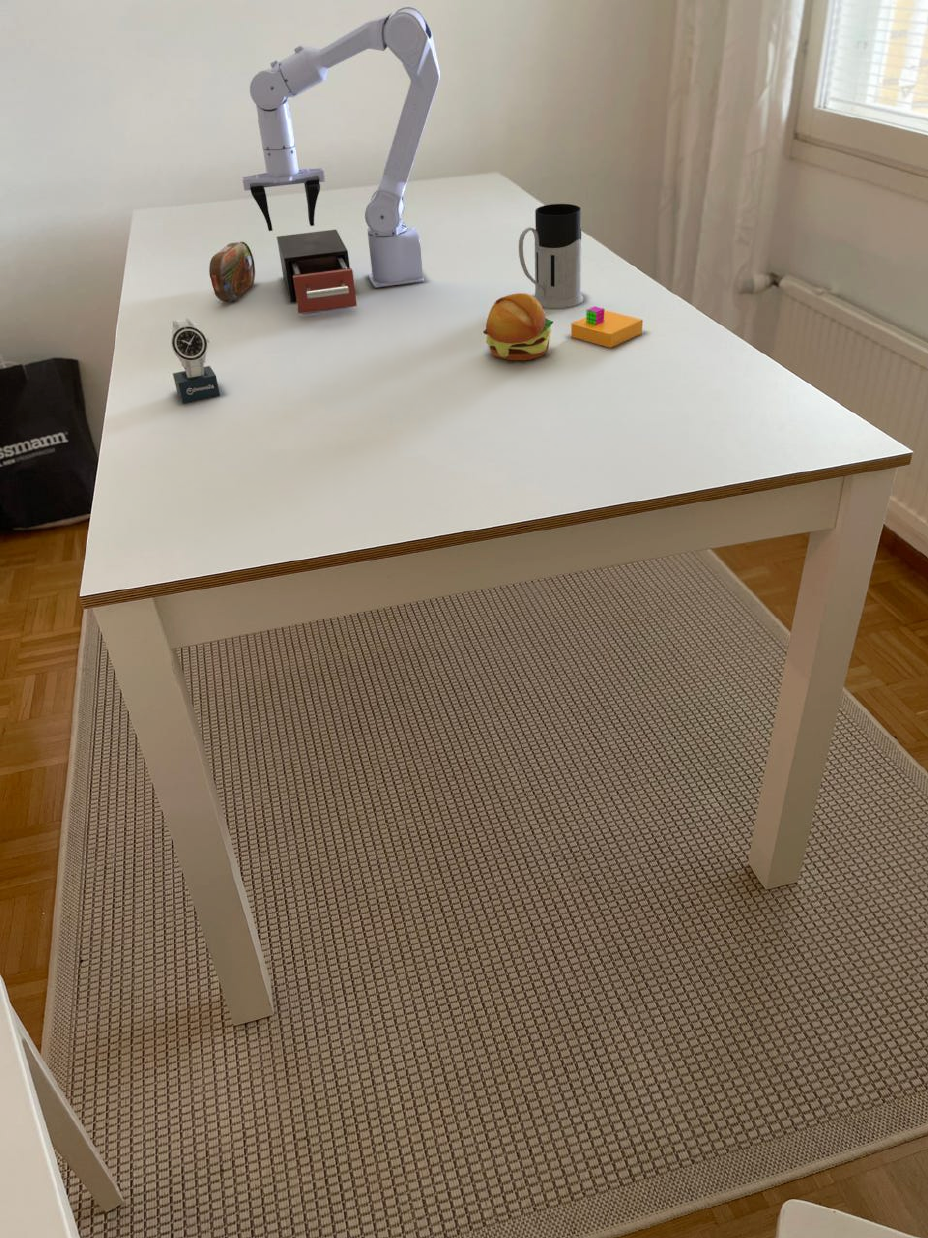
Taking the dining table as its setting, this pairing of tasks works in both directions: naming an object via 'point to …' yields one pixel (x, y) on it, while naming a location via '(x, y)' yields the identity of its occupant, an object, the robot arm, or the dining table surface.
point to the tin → (232, 271)
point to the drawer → (323, 284)
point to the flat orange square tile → (606, 327)
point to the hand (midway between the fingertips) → (291, 226)
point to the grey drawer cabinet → (308, 252)
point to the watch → (192, 363)
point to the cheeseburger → (517, 328)
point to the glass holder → (556, 255)
